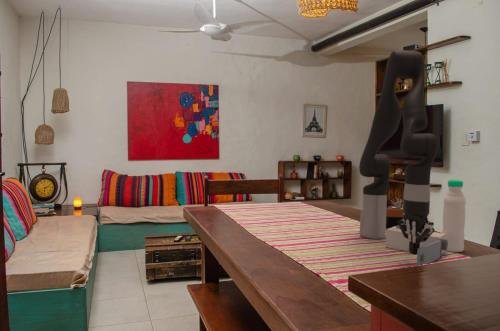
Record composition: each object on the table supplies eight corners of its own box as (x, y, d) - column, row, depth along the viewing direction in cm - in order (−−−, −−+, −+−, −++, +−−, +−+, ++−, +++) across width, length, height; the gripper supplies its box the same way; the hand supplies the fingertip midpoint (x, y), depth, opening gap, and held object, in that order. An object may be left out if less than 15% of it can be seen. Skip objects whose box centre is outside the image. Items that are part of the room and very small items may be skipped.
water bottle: (437, 248, 145) (439, 179, 144) (451, 246, 148) (454, 179, 146) (453, 253, 139) (456, 181, 137) (468, 251, 141) (471, 180, 140)
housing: (385, 247, 146) (386, 227, 145) (394, 243, 152) (395, 224, 151) (442, 257, 133) (443, 235, 133) (449, 253, 139) (450, 232, 139)
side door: (421, 269, 120) (422, 248, 120) (416, 268, 121) (417, 248, 121) (443, 257, 133) (444, 239, 132) (438, 256, 134) (439, 238, 133)
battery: (403, 230, 176) (404, 207, 175) (387, 229, 176) (388, 207, 176) (400, 228, 180) (400, 205, 180) (384, 227, 181) (385, 205, 180)
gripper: (391, 196, 128) (389, 249, 129) (424, 202, 116) (422, 261, 117) (409, 194, 131) (407, 247, 132) (443, 201, 119) (440, 258, 120)
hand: (414, 253), depth 125 cm, fingers closed
